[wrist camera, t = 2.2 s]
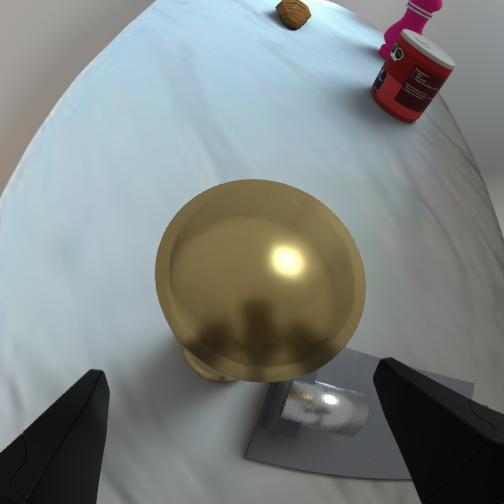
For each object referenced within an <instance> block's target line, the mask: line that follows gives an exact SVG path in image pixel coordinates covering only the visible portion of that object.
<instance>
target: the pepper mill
mask: <svg viewBox="0 0 504 504" xmlns="http://www.w3.org/2000/svg"><path fill="white" fill-rule="evenodd" d="M408 2H409V3H408V4H406V5H407V7H408V8H407V11H406V13H405V15H404V17H403V18H402V19H401V20H400V21H398V22H397V23H395V24H394V25H392V26H391V27H390V28H389V29H388V30H387V31H386V32H385V34H384V39H385V43H386V44H383V45H382V46H381V48H380V50H379V53H380V55H381V56H382V57H383V58H384V59H387V57H388V55H389V53H390V52H391V50H392V48H393V46H394V44H395V42H396V40H397V38H398V37H399V35H400V33H401V32H402V30H403V29H408V30H411V31H413V32H416V33H418V34H420V35H421V36H422V30H423V27H424V25H425V23H426V22H427V21H428V20H431V17H432V16H433V14H432V13H433V12H435V11H438V10H440V9H441V7H442V0H411V1H410V0H409V1H408Z"/></svg>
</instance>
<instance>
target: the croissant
mask: <svg viewBox="0 0 504 504" xmlns="http://www.w3.org/2000/svg"><path fill="white" fill-rule="evenodd" d="M276 9H277V11H278V14H279V16H280V18H281V19H282V22H283V23H284V24H285V25H286V26H287V27H288V28H290V29H294V30H297V29H299V28H300V27H301V26H303V25H304V24H305V23H306V22H307V20H308V19H309V18H310V17H311V13H310V11H309V8H308V6H307V5H305V4H304V3H303V2H301V1H300V0H282V1H281V2H280V3H279V4H278V5H277V6H276Z"/></svg>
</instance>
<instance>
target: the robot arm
mask: <svg viewBox="0 0 504 504" xmlns="http://www.w3.org/2000/svg"><path fill="white" fill-rule="evenodd" d="M373 383H374V386H375V389H376V392H377V395H378V398H379V401H380V404H381V407H382V410H383V413H384V416H385V418H386V420H387V423H388V425H389V427H390V429H391V432H392V434H393V436H394V438H395V441H396V443H397V445H398V448H399V450H400V452H401V455H402V457H403V459H404V462H405V464H406V466H407V469H408V471H409V473H410V476H411V478H412V481H413V483H414V486H415V488H416V491H417V493H418V496H419V498H420V501H421V503H422V504H504V414H502V413H500V412H497V411H495V410H492V409H490V408H488V407H485V406H483V405H481V404H479V403H477V402H475V401H473V400H471V399H469V398H467V397H465V396H463V395H461V394H459V393H458V392H456V391H454V390H452V389H450V388H448V387H446V386H444V385H442V384H440V383H438V382H437V381H435V380H433V379H431V378H429V377H427V376H425V375H423V374H421V373H420V372H418V371H416V370H414V369H412V368H410V367H408V366H407V365H405V364H403V363H401V362H399V361H397V360H396V359H394V358H391V357H388V358H383V359H381V360H380V361H379V363H378V365H377V368H376V370H375V372H374V375H373ZM109 397H110V391H109V386H108V383H107V380H106V376H105V373H104V372H103V371H102V370H97V369H90V370H89V371H88V372H87V373H86V374H84V375H83V376H82V377H81V378H80V379H79V380H78V381H77V382H76V383H75V384H74V385H73V386H71V387H70V388H69V389H68V390H67V391H66V392H65V393H64V394H63V395H62V396H61V397H60V398H59V399H57V400H56V401H55V402H54V403H53V404H52V405H51V406H50V407H49V408H48V409H47V410H46V411H45V412H44V413H43V414H41V415H40V416H39V417H38V418H37V419H36V420H35V421H34V422H33V423H32V424H31V425H30V426H29V427H28V428H27V429H26V430H25V431H24V432H23V434H20V435H19V436H18V437H17V438H16V439H15V440H14V441H13V442H12V443H11V444H10V445H9V446H7V447H6V448H5V449H4V450H3V451H2V452H0V504H96V501H97V493H98V485H99V478H100V471H101V465H102V459H103V453H104V447H105V441H106V433H107V420H108V407H109Z"/></svg>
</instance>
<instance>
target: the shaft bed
mask: <svg viewBox="0 0 504 504" xmlns="http://www.w3.org/2000/svg"><path fill="white" fill-rule="evenodd" d="M380 360H381V358H377V357H374V356H371V355H367V354H364V353H361V352H358V351H355V350H351V349H348V348H345V347H344V348H343V349H342V350H341V351H340V352H339V354H338V355H337V356H336V357H334V358H333V359H332V360H331V361H329V362H328V363H327V364H326V365H324V366H322V367H321V368H319V369H317V370H315V371H314V372H312V373H309V374H307V375H304V376H301V377H299V378H295V379H290V380H286V381H277V382H272V383H271V386H270V389H269V391H268V394H267V397H266V400H265V403H264V406H263V408H262V411H261V414H260V417H259V420H258V422H257V425H256V428H255V430H254V433H253V436H252V438H251V441H250V444H249V446H248V449H247V452H246V454H245V457H246V458H250V459H254V460H258V461H262V462H266V463H270V464H275V465H279V466H284V467H289V468H294V469H300V470H306V471H312V472H318V473H325V474H333V475H341V476H351V477H363V478H381V479H412V478H411V476H410V473H409V471H408V469H407V466H406V464H405V462H404V459H403V457H402V455H401V452H400V450H399V448H398V445H397V443H396V441H395V438H394V436H393V434H392V432H391V429H390V427H389V425H388V423H387V420H386V418H385V416H384V413H383V410H382V407H381V404H380V401H379V398H378V395H377V392H376V389H375V386H374V383H373V375H374V372H375V370H376V368H377V365H378V363H379V361H380ZM410 368H412V367H410ZM412 369H414V370H416V371H418V372H420V373H421V374H423V375H425V376H427V377H429V378H431V379H433V380H435V381H437V382H438V383H440V384H442V385H444V386H446V387H448V388H450V389H452V390H454V391H456V392H458V393H459V394H461V395H463V396H465V397H467V398H469V399H471V400H472V395H473V389H474V383H470V382H466V381H461V380H457V379H453V378H449V377H445V376H441V375H438V374H434V373H430V372H426V371H423V370H419V369H415V368H412ZM483 406H485V407H488V406H486V405H483Z"/></svg>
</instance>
